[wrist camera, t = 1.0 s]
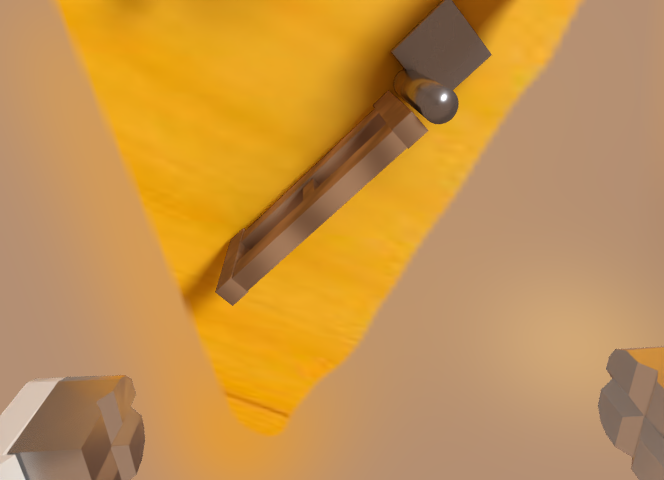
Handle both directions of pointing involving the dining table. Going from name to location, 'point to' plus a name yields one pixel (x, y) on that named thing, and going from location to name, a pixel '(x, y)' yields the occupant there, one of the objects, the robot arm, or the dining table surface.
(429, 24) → the hinge post
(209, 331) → the dining table surface
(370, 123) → the gate
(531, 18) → the dining table surface
